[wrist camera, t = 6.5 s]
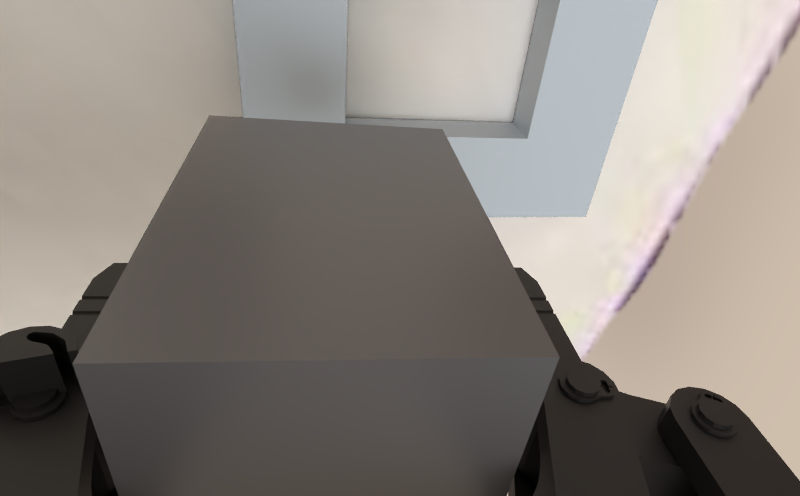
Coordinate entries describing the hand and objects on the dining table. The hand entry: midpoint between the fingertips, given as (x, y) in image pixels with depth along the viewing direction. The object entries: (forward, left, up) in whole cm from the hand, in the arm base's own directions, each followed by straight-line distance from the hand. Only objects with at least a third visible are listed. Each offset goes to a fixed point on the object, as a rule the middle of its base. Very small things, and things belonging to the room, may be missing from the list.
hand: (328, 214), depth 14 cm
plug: (0, 0, 0) cm, 0 cm away
